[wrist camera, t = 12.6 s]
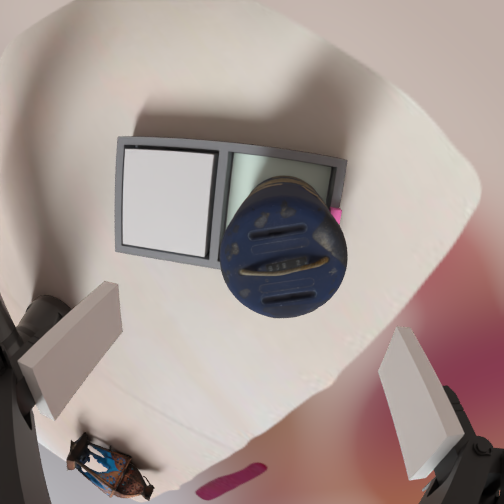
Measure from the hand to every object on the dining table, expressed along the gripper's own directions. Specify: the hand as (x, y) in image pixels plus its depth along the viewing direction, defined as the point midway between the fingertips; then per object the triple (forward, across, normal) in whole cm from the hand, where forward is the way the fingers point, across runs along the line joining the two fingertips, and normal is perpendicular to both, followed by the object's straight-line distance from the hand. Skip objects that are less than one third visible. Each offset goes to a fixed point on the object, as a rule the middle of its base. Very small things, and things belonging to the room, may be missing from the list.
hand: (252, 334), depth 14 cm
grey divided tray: (+27, -6, 0) cm, 27 cm away
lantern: (+27, -32, -72) cm, 83 cm away
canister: (+26, +1, 0) cm, 26 cm away
